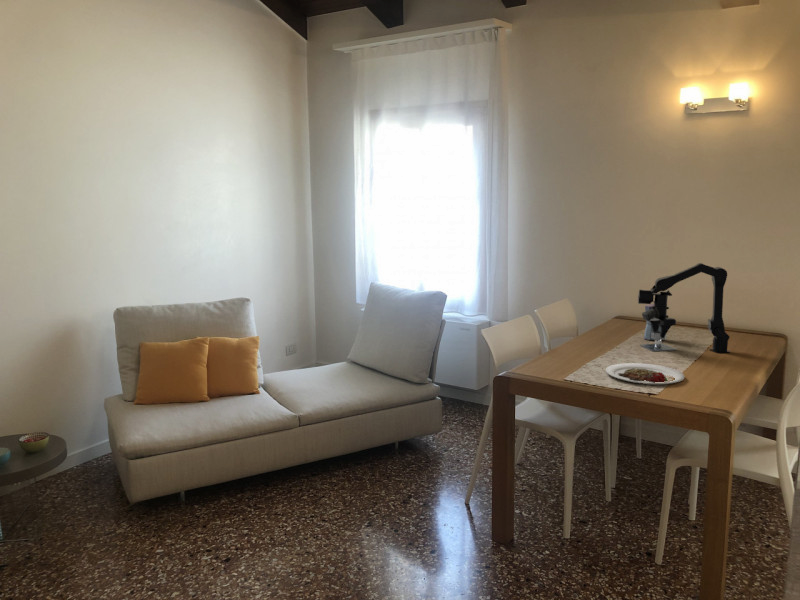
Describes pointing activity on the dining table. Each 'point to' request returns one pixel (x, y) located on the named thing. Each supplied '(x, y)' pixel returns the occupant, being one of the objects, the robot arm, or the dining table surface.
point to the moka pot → (649, 325)
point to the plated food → (644, 373)
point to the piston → (658, 346)
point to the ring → (657, 335)
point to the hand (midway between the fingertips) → (658, 336)
